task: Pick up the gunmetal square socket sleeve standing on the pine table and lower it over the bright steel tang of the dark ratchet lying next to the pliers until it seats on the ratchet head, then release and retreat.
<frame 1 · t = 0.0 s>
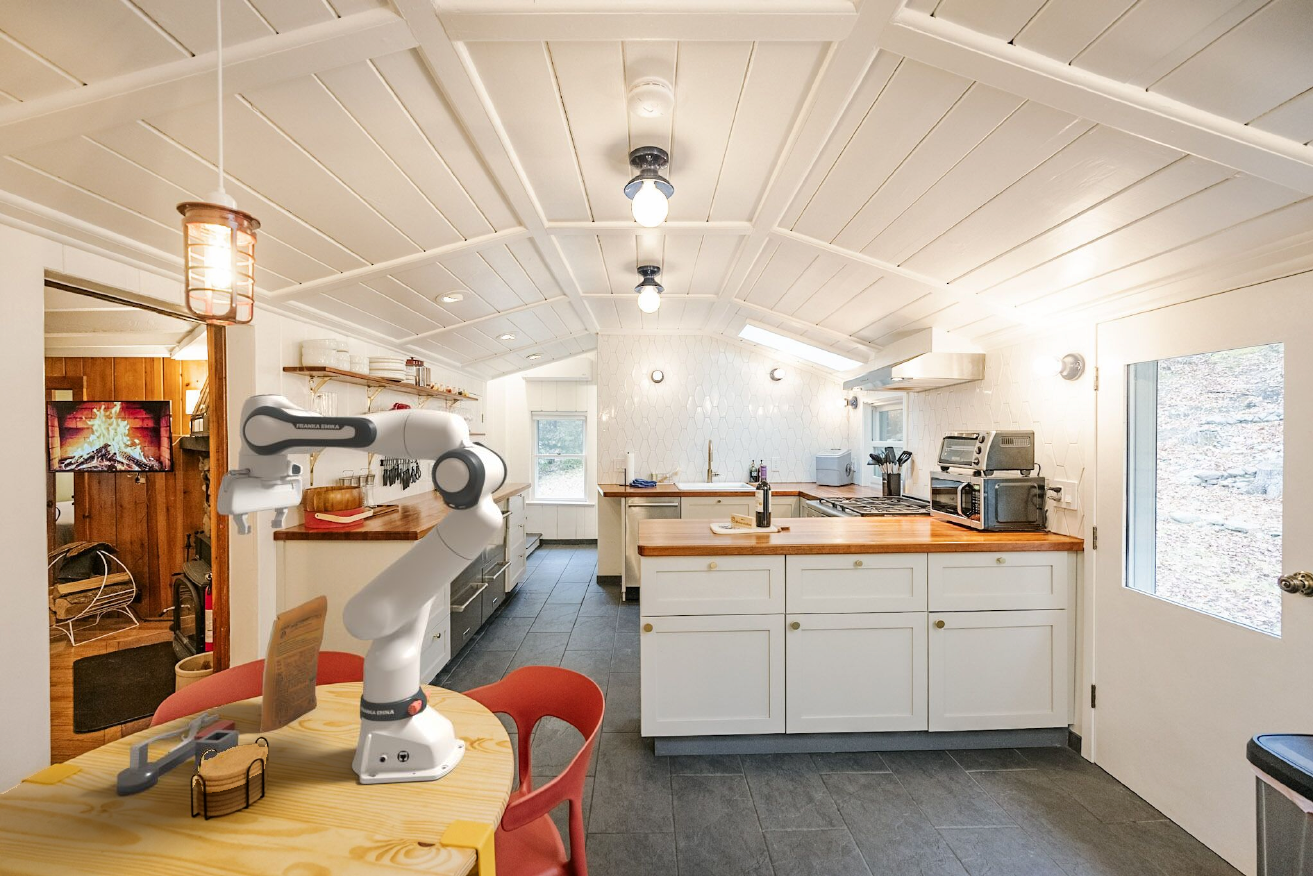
hand: (261, 530, 122), 48 cm above the table, fingers open, 8 cm apart
pancake mix bag: (293, 717, 137), on the table
socket: (216, 765, 116), on the table
ratchet: (137, 786, 108), on the table
pliers: (183, 736, 128), on the table
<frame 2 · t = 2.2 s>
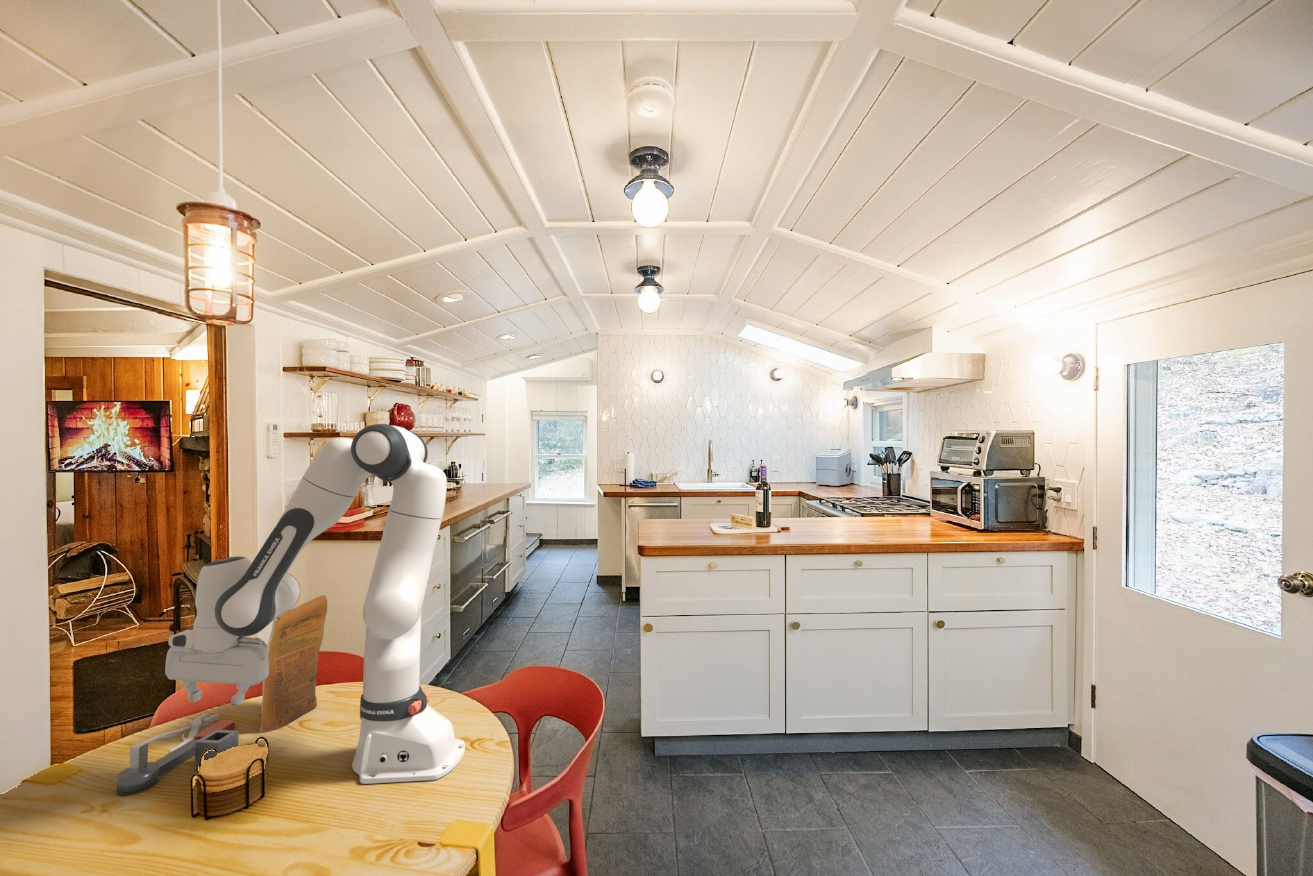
hand: (216, 702, 116), 13 cm above the table, fingers open, 8 cm apart
nothing on the table moved.
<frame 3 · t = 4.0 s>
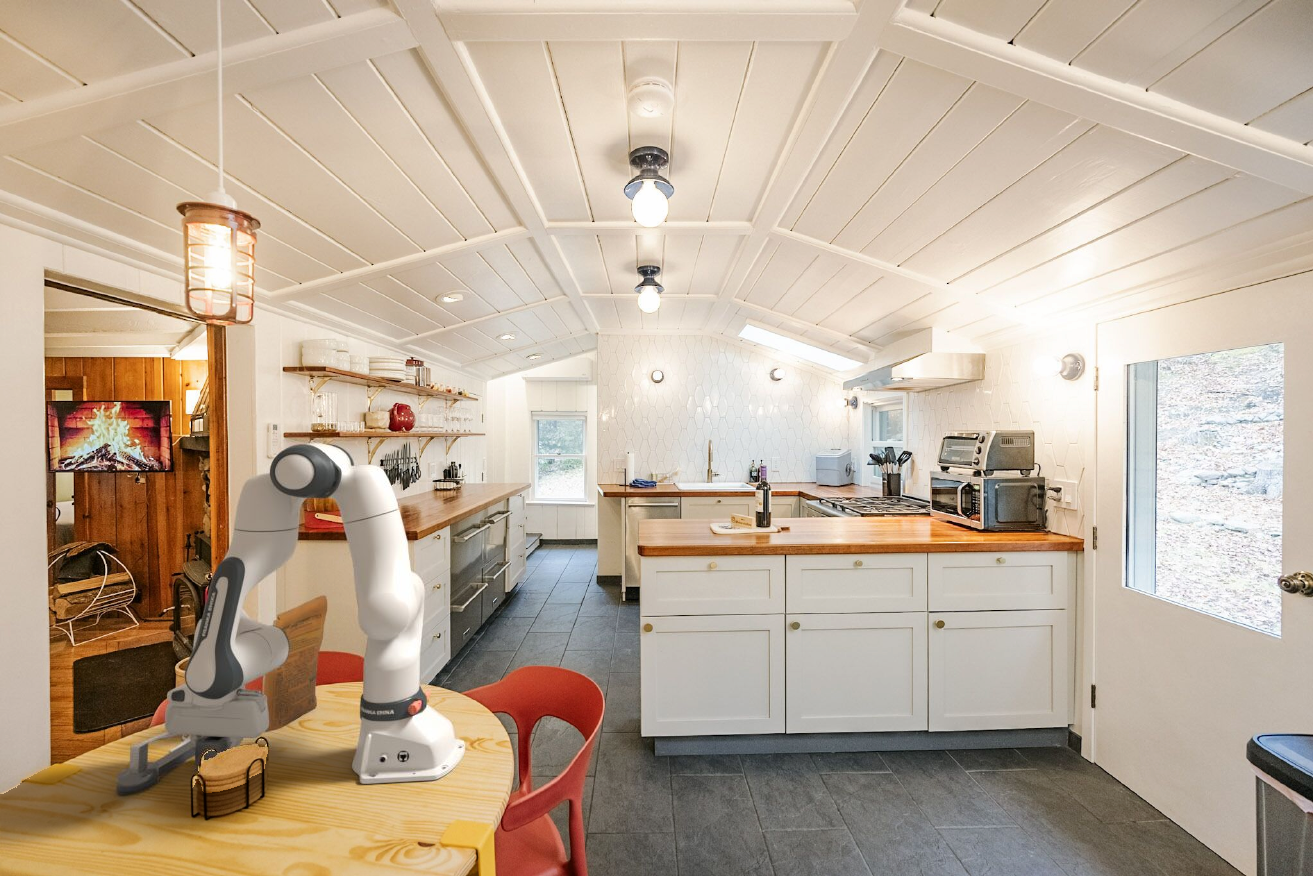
hand: (216, 755, 116), 2 cm above the table, fingers closed on socket, 5 cm apart
socket: (216, 765, 116), on the table, touching gripper
everything else where it was.
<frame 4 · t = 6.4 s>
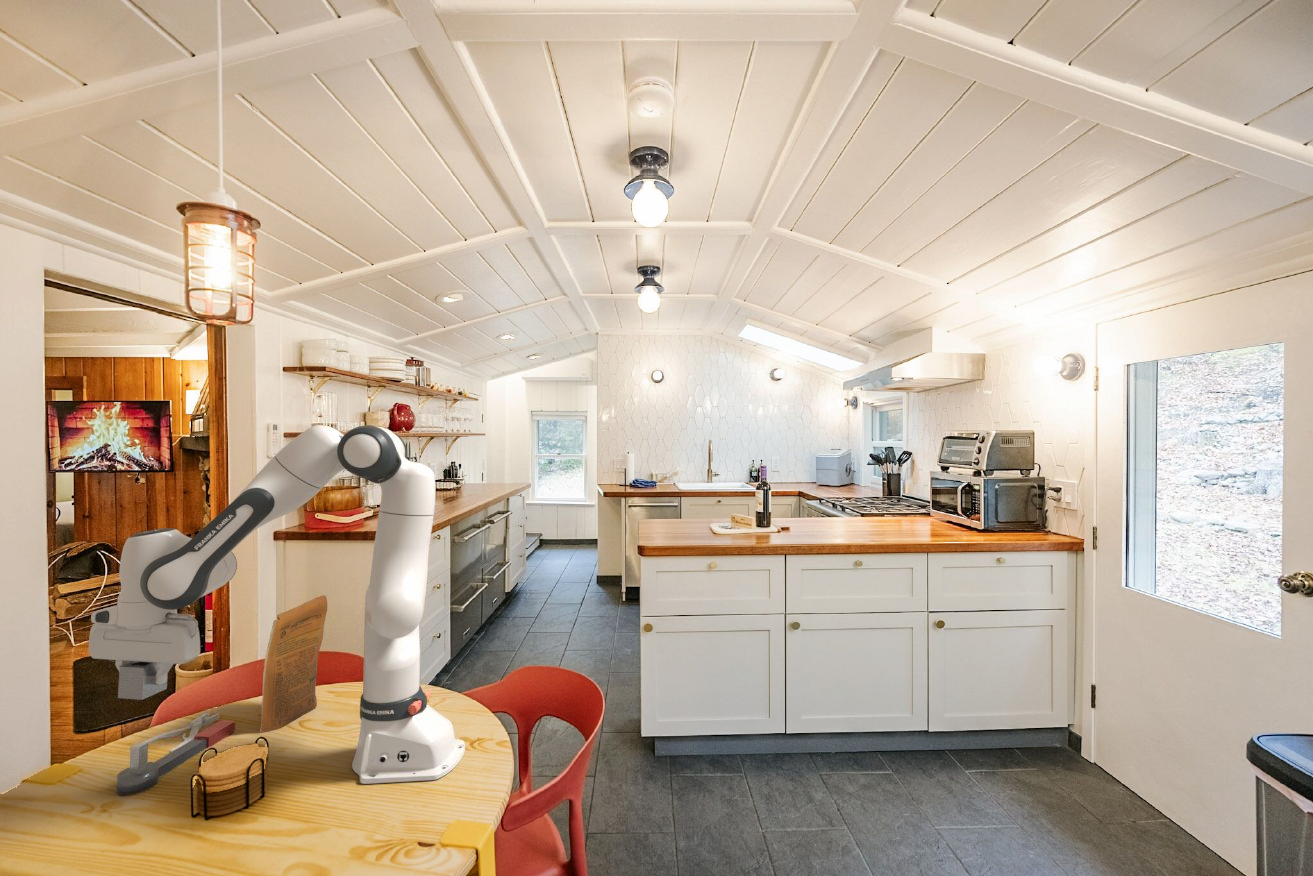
hand: (143, 682, 109), 20 cm above the table, fingers closed on socket, 5 cm apart
socket: (142, 693, 109), point 18 cm above the table, touching gripper
everything else where it was.
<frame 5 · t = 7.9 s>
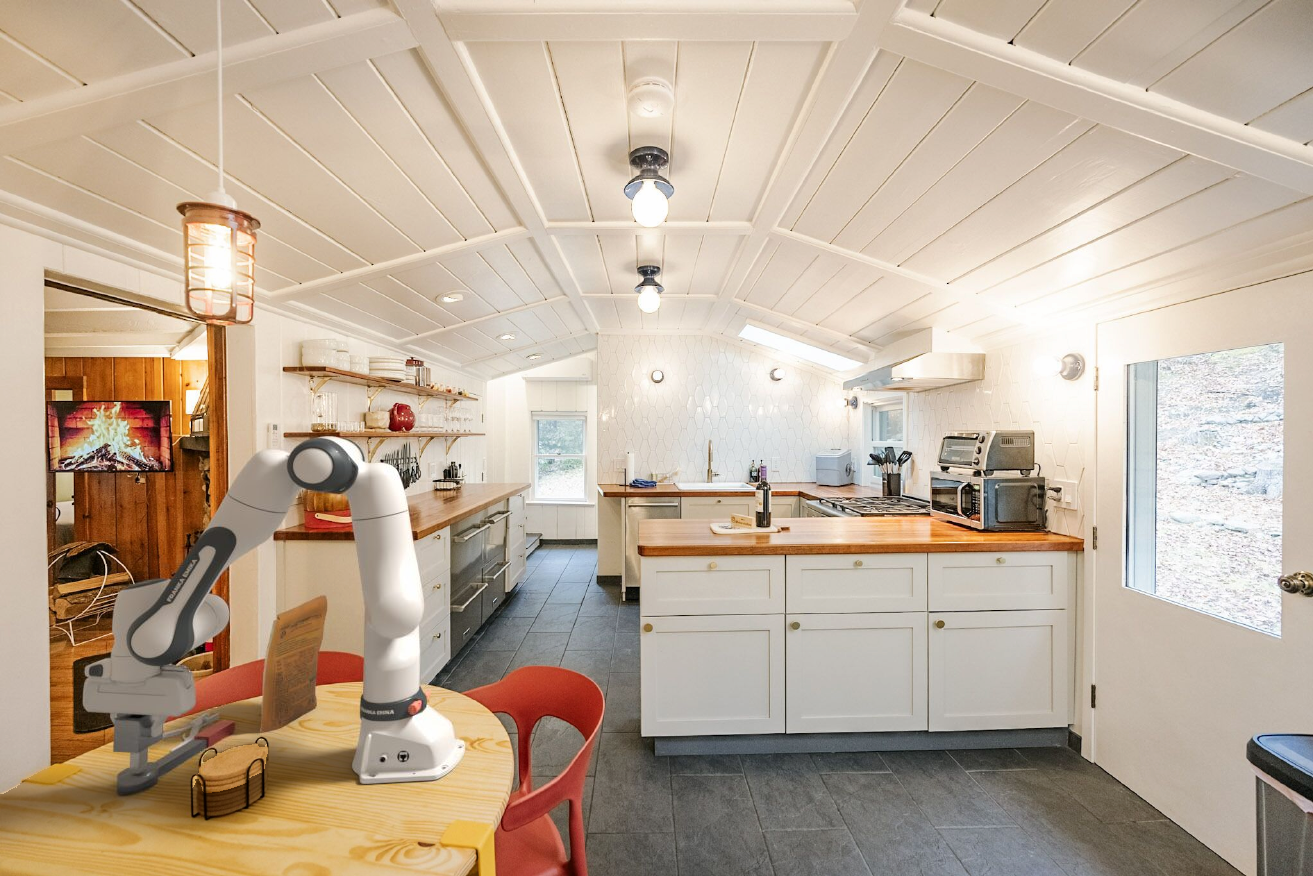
hand: (139, 734, 108), 10 cm above the table, fingers closed on socket, 5 cm apart
socket: (138, 745, 108), point 8 cm above the table, touching gripper
everything else where it was.
when the fingers open (6 cm above the table, at t = 9.0 s): socket stays where it is, resting on ratchet.
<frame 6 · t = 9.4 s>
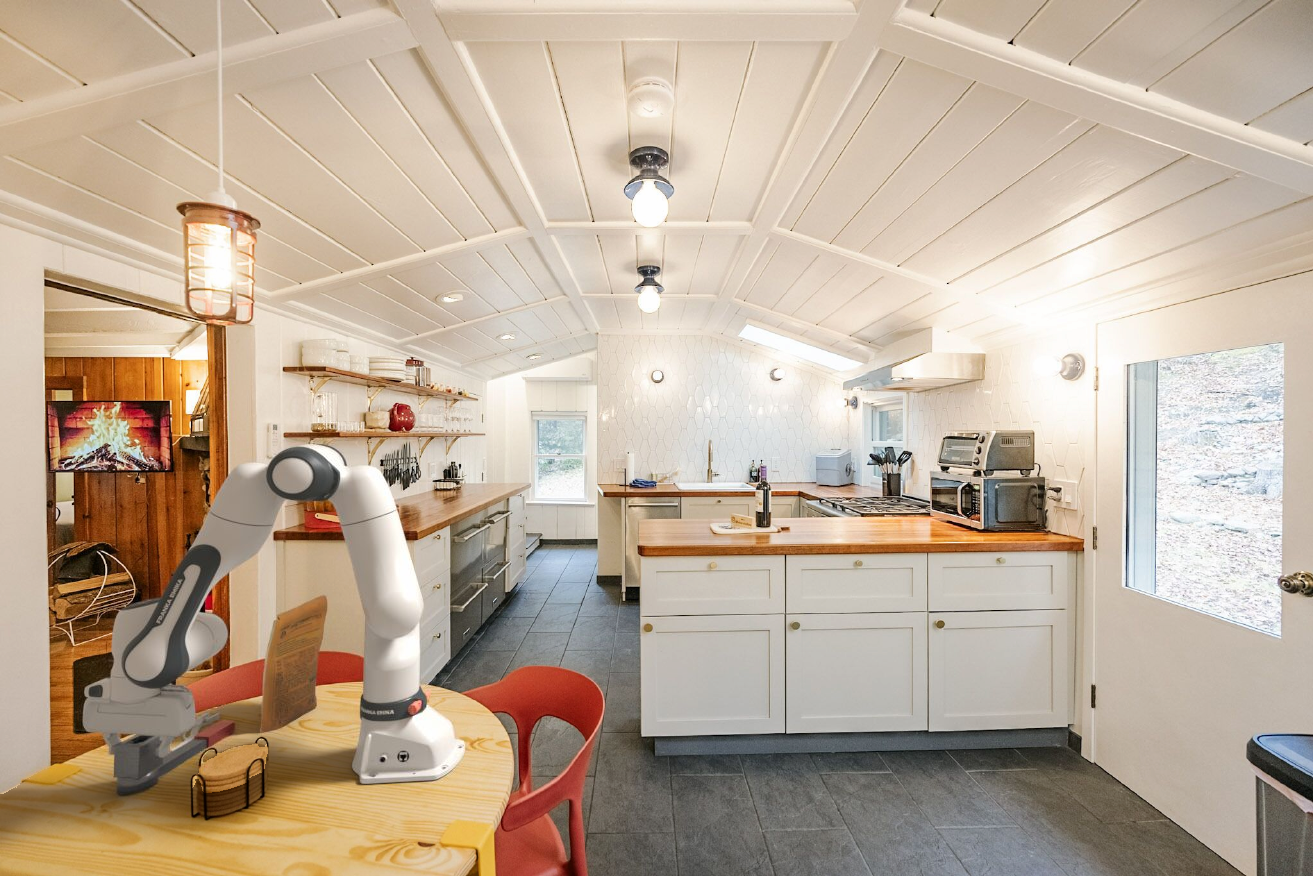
hand: (139, 754, 108), 6 cm above the table, fingers open, 8 cm apart
socket: (138, 770, 108), point 3 cm above the table, touching ratchet
everything else where it was.
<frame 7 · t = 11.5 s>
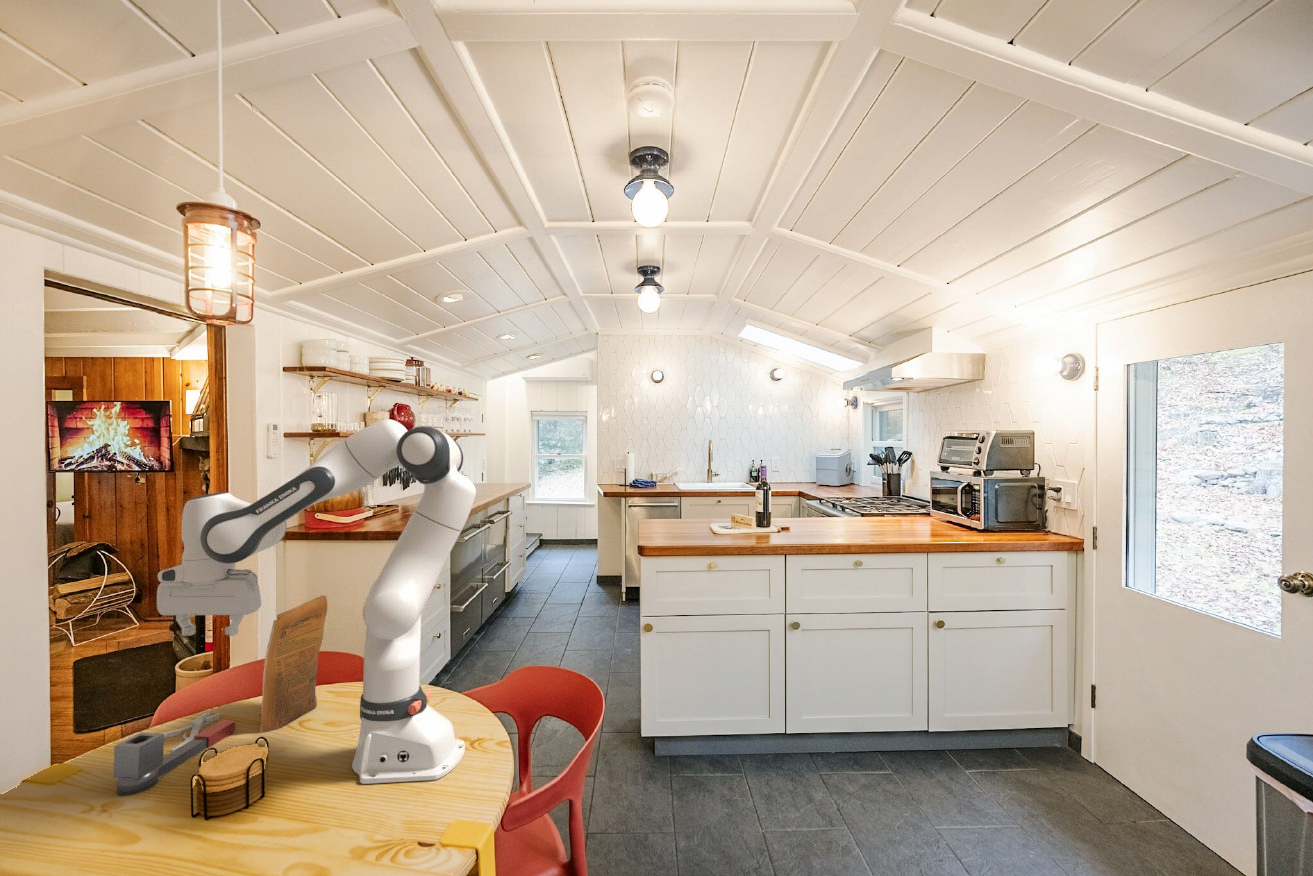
hand: (210, 635, 117), 27 cm above the table, fingers open, 8 cm apart
nothing on the table moved.
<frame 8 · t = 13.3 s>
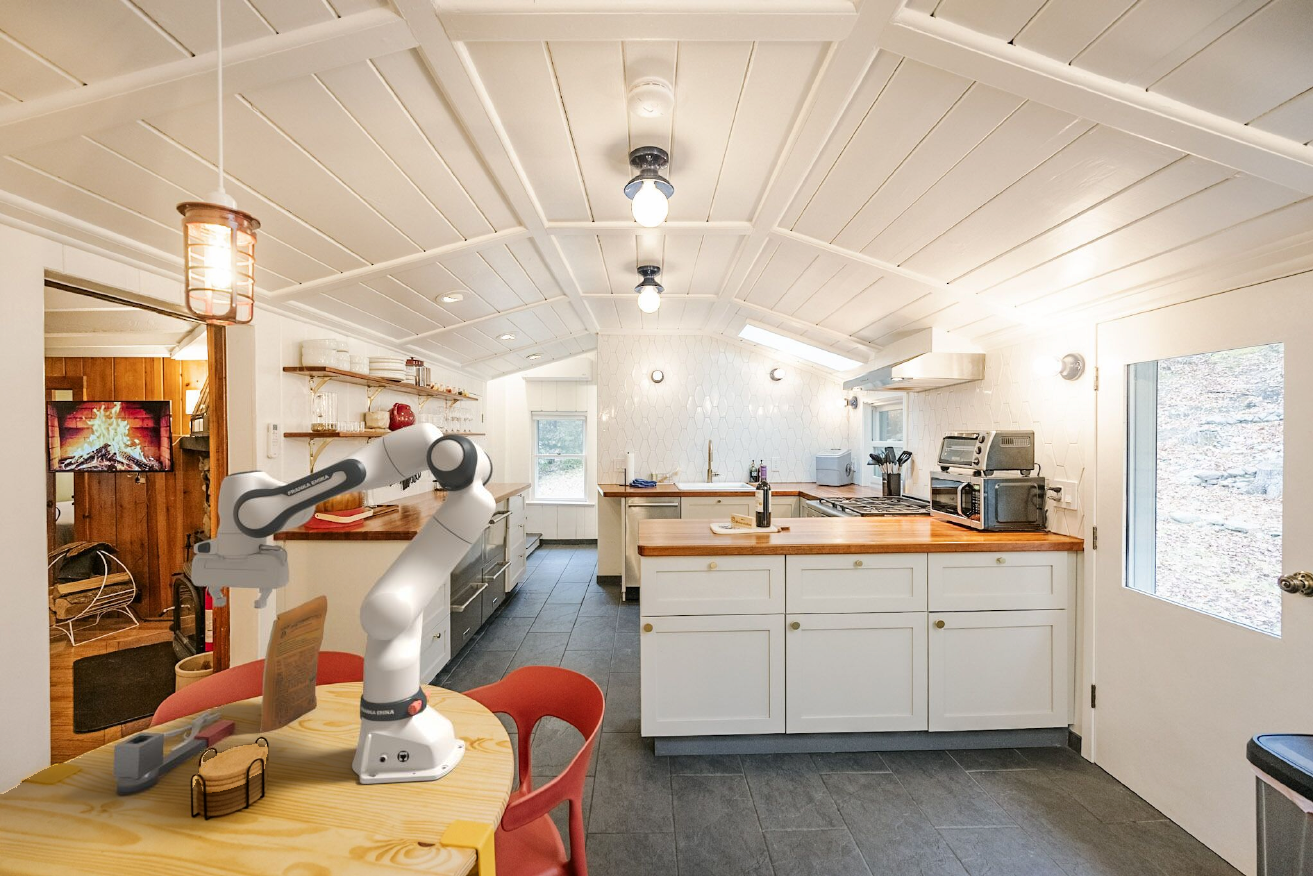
hand: (240, 607, 122), 31 cm above the table, fingers open, 8 cm apart
nothing on the table moved.
at the end: socket 0.1 cm off-centre on the ratchet, point 3.0 cm above the ratchet's base; socket tilted 0°; the gripper is holding nothing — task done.
